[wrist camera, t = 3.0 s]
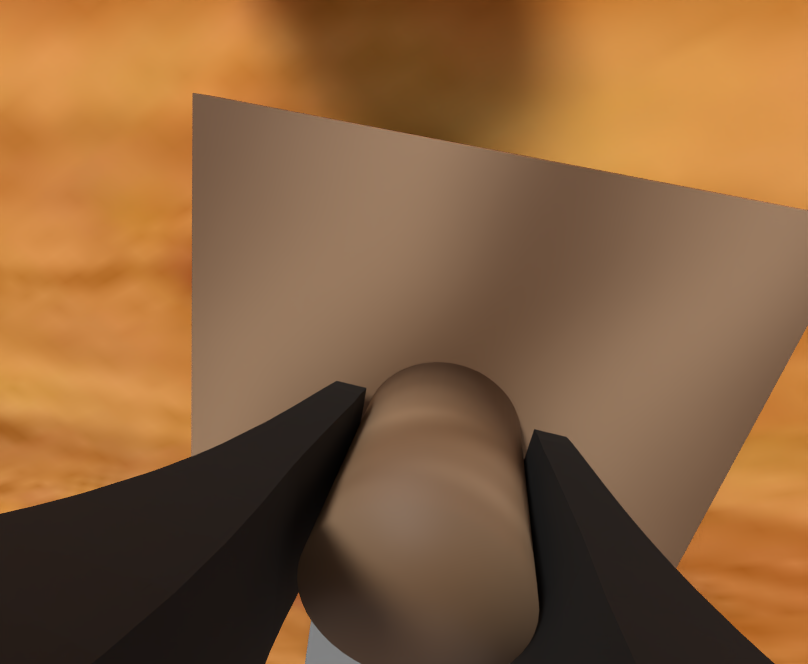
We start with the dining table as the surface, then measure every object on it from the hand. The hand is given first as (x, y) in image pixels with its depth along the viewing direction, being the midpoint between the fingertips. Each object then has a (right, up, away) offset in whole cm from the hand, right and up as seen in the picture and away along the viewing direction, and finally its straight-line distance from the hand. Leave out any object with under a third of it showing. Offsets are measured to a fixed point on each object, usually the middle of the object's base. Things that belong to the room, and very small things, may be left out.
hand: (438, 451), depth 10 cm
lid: (0, 0, +1) cm, 1 cm away
